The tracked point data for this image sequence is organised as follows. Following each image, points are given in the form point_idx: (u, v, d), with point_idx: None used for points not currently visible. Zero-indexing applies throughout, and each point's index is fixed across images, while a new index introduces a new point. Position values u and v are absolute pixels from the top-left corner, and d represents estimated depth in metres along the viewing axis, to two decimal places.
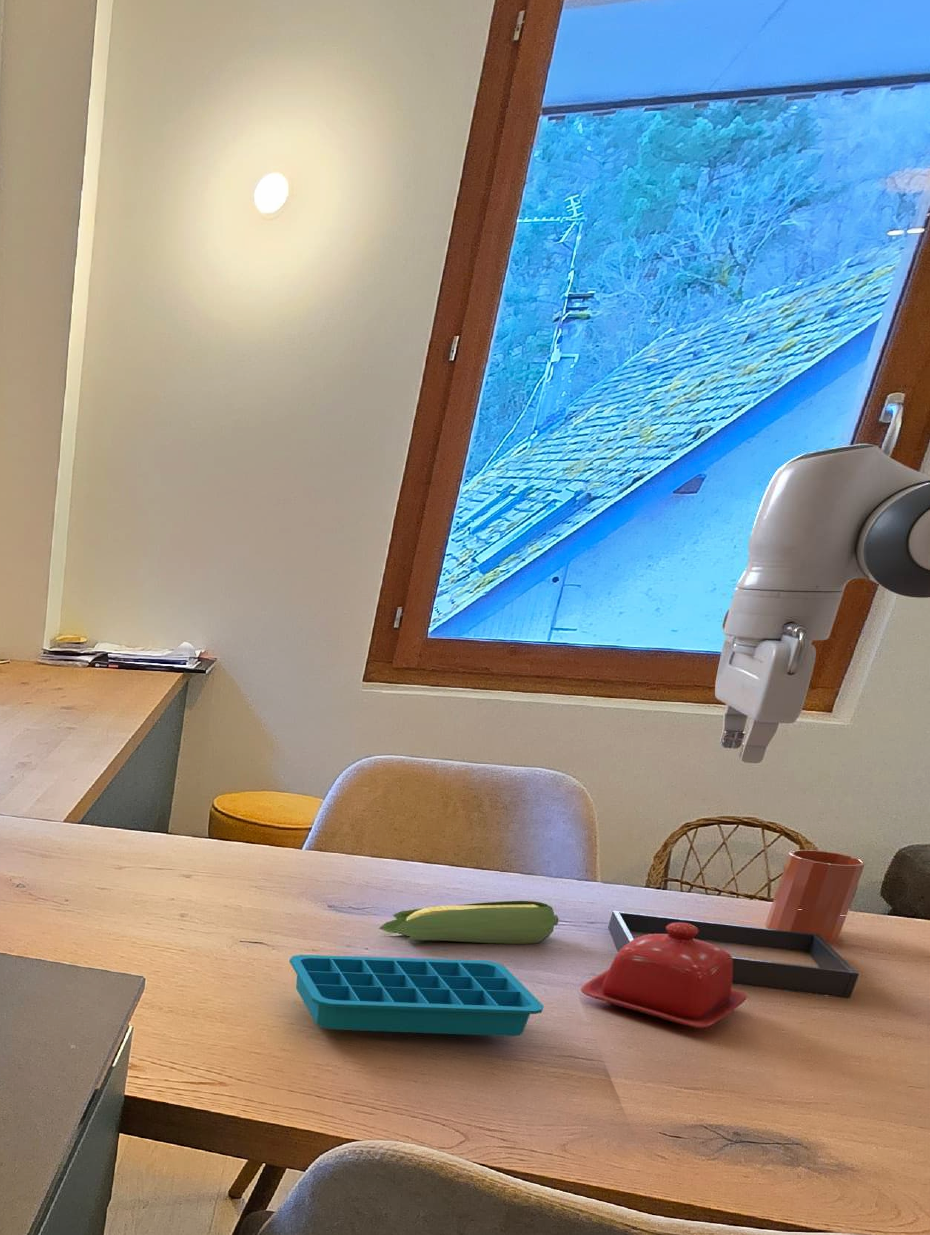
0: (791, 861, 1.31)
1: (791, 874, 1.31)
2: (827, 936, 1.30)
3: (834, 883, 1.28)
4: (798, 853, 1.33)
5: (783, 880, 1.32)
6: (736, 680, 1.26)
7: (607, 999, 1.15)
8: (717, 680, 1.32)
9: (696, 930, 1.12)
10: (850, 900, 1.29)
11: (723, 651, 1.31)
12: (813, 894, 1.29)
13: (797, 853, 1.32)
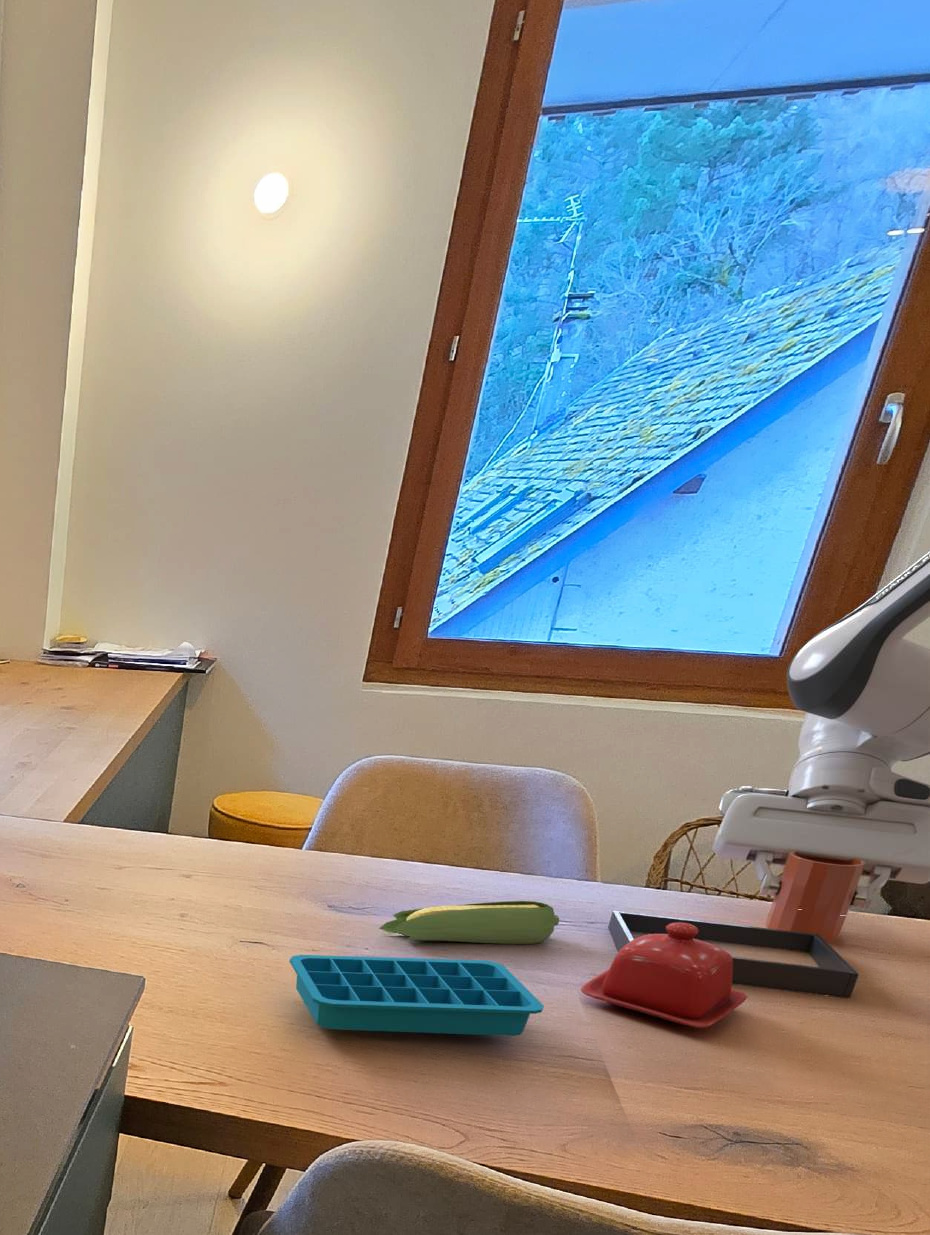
0: (791, 861, 1.31)
1: (791, 874, 1.31)
2: (827, 936, 1.30)
3: (834, 883, 1.28)
4: None
5: (783, 880, 1.32)
6: None
7: (607, 999, 1.15)
8: None
9: (696, 930, 1.12)
10: (850, 900, 1.29)
11: None
12: (813, 894, 1.29)
13: (797, 853, 1.32)
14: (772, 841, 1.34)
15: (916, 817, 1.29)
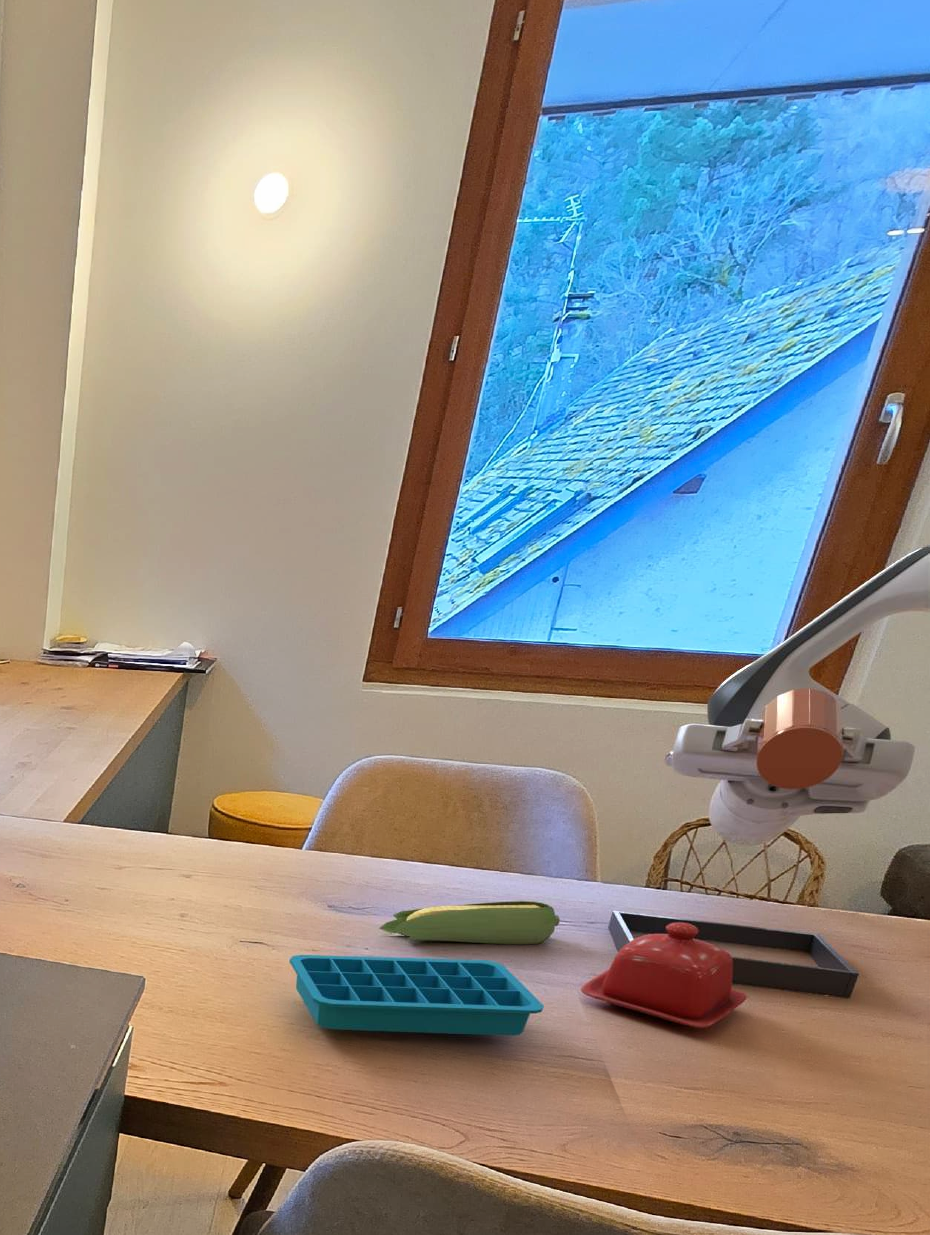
0: (767, 707, 1.24)
1: (772, 707, 1.23)
2: (833, 727, 1.16)
3: (821, 698, 1.20)
4: None
5: (764, 717, 1.23)
6: None
7: (607, 999, 1.15)
8: (891, 781, 1.22)
9: (696, 930, 1.12)
10: (840, 723, 1.19)
11: (873, 793, 1.25)
12: (804, 701, 1.20)
13: None
14: None
15: None
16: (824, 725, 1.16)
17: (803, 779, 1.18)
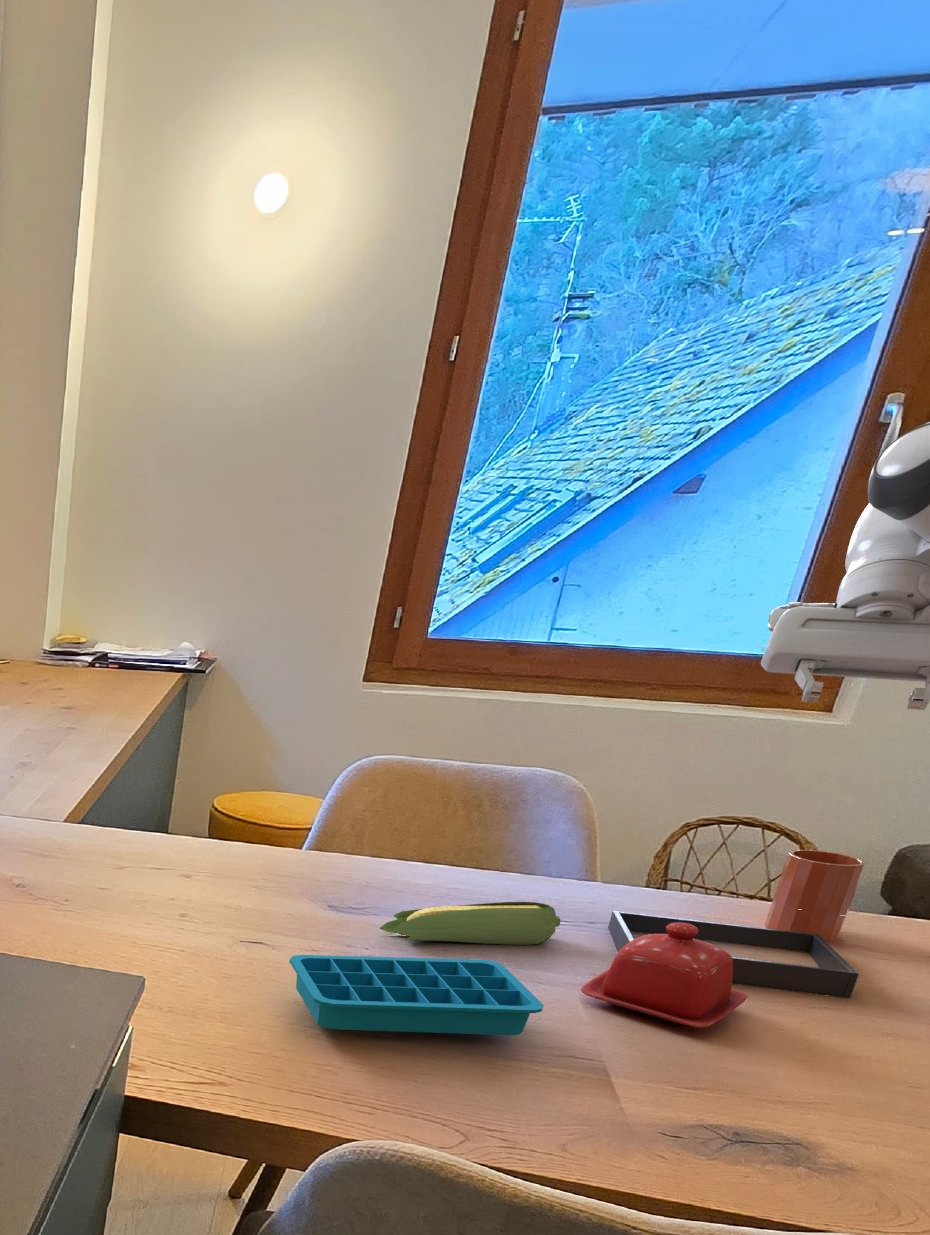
0: (790, 861, 1.31)
1: (790, 874, 1.31)
2: (826, 936, 1.30)
3: (833, 883, 1.28)
4: (797, 853, 1.33)
5: (782, 880, 1.32)
6: None
7: (607, 999, 1.15)
8: None
9: (696, 930, 1.12)
10: (849, 900, 1.29)
11: None
12: (812, 894, 1.29)
13: (796, 853, 1.33)
14: (821, 649, 1.36)
15: None
16: None
17: None
